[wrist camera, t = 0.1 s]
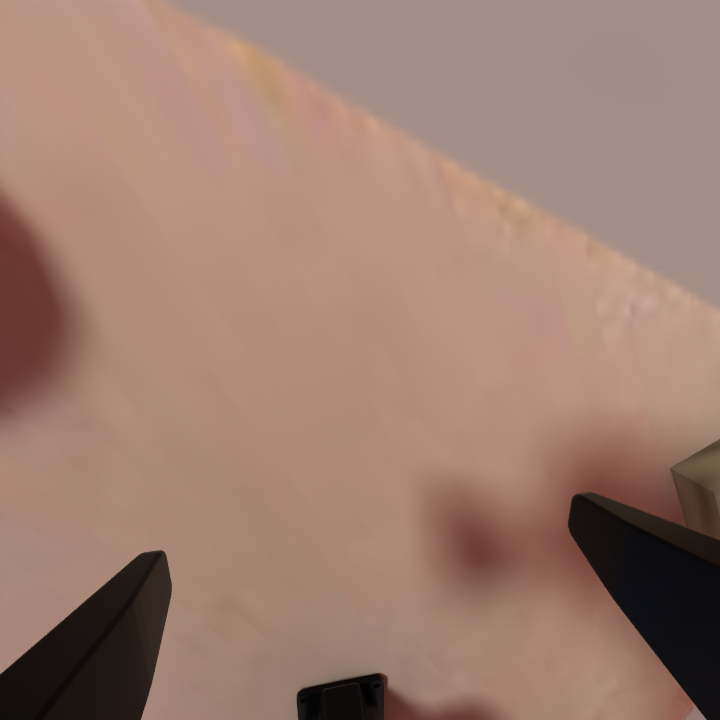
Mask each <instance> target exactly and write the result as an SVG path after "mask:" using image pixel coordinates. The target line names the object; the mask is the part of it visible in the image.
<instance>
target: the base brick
mask: <svg viewBox="0 0 720 720" xmlns="http://www.w3.org/2000/svg"><path fill="white" fill-rule="evenodd" d="M670 469H671V472H672V476H673V479H674V483H675V486H676V490H677V493H678V497H679V500H680V504H681V507H682V511H683V514H684V518H685V521H686V525H687V528H689V529H692V530H694V531H697V532H700V533H702V534H705V535H708V536H710V537H713V538H716V539H718V540H720V439H719V440H718V441H716V442H714V443H712V444H711V445H709V446H707V447H706V448H704V449H702V450H701V451H699V452H697V453H695V454H694V455H692V456H690V457H689V458H687V459H685V460H684V461H682V462H680V463H678V464H677V465H675V466H673V467H672V468H670Z"/></svg>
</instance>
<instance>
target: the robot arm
mask: <svg viewBox="0 0 720 720" xmlns="http://www.w3.org/2000/svg"><path fill="white" fill-rule="evenodd" d="M568 527H569V531H570V533H571V535H572V537H573V539H574V540H575V542H576V543H577V545H578V546H579V548H580V549H581V551H582V552H583V554H584V555H585V557H586V558H587V560H588V562H589V563H590V565H591V566H592V568H593V569H594V571H595V572H596V574H597V575H598V577H599V578H600V580H601V581H602V583H603V584H604V586H605V587H606V589H607V590H608V592H609V593H610V595H611V596H612V598H613V599H614V600H615V602H616V603H617V605H618V606H619V607H620V609H621V610H622V611H623V612H624V614H625V615H626V616H627V618H628V619H629V620H630V622H631V623H632V624H633V625H634V627H635V628H636V629H637V631H638V632H639V633H640V634H641V636H642V637H643V638H644V640H645V641H646V642H647V643H648V645H649V646H650V647H651V649H652V650H653V651H654V652H655V654H656V655H657V656H658V658H659V659H660V660H661V661H662V663H663V664H664V665H665V667H666V668H667V669H668V671H669V672H670V673H671V674H672V676H673V677H674V678H675V680H676V681H677V682H678V683H679V685H680V686H681V687H682V689H683V690H684V691H685V692H686V694H687V695H688V696H689V698H690V699H691V700H692V701H693V703H694V704H695V705H696V707H697V708H698V709H699V710H700V712H701V713H702V714H703V716H704V717H705V718H706V719H707V720H720V540H718V539H716V538H713V537H710V536H708V535H705V534H702V533H700V532H697V531H694V530H692V529H689V528H686V527H684V526H681V525H678V524H676V523H673V522H670V521H668V520H665V519H662V518H660V517H657V516H654V515H651V514H649V513H646V512H643V511H641V510H638V509H635V508H633V507H630V506H627V505H625V504H622V503H619V502H617V501H614V500H611V499H609V498H606V497H603V496H601V495H598V494H595V493H592V492H587V493H579V494H575V495H574V496H573V497H572V500H571V507H570V514H569V520H568ZM171 592H172V583H171V578H170V572H169V567H168V562H167V557H166V554H165V552H164V551H162V550H158V551H151V552H144V553H141V554H140V555H138V556H137V557H136V558H135V559H134V560H132V561H131V562H130V563H129V564H128V565H127V566H125V567H124V568H123V569H122V570H121V571H120V572H118V573H117V574H116V575H115V576H114V577H113V578H111V579H110V580H109V581H108V582H107V583H106V584H105V585H103V586H102V587H101V588H100V589H99V590H98V591H96V592H95V593H94V594H93V595H92V596H91V597H89V598H88V599H87V600H86V601H85V602H84V603H82V604H81V605H80V606H79V607H78V608H77V609H76V610H74V611H73V612H72V613H71V614H70V615H69V616H67V617H66V618H65V619H64V620H63V621H62V622H60V623H59V624H58V625H57V626H56V627H55V628H54V629H52V630H51V631H50V632H49V633H48V634H47V635H45V636H44V637H43V638H42V639H41V640H40V641H38V642H37V643H36V644H35V645H34V646H33V647H31V648H30V649H29V650H28V651H27V652H26V653H25V654H23V655H22V656H21V657H20V658H19V659H18V660H16V661H15V662H14V663H13V664H12V665H11V666H9V667H8V668H7V669H6V670H5V671H4V672H3V673H1V674H0V720H141V717H142V714H143V711H144V708H145V705H146V701H147V698H148V695H149V691H150V688H151V684H152V680H153V676H154V672H155V667H156V663H157V658H158V654H159V649H160V645H161V640H162V635H163V631H164V626H165V622H166V617H167V613H168V608H169V603H170V599H171ZM297 710H298V720H384V684H383V679H382V677H381V676H380V675H374V676H369V677H364V678H360V679H355V680H350V681H345V682H340V683H335V684H330V685H325V686H320V687H315V688H310V689H305V690H301V691H300V692H298V694H297Z"/></svg>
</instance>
